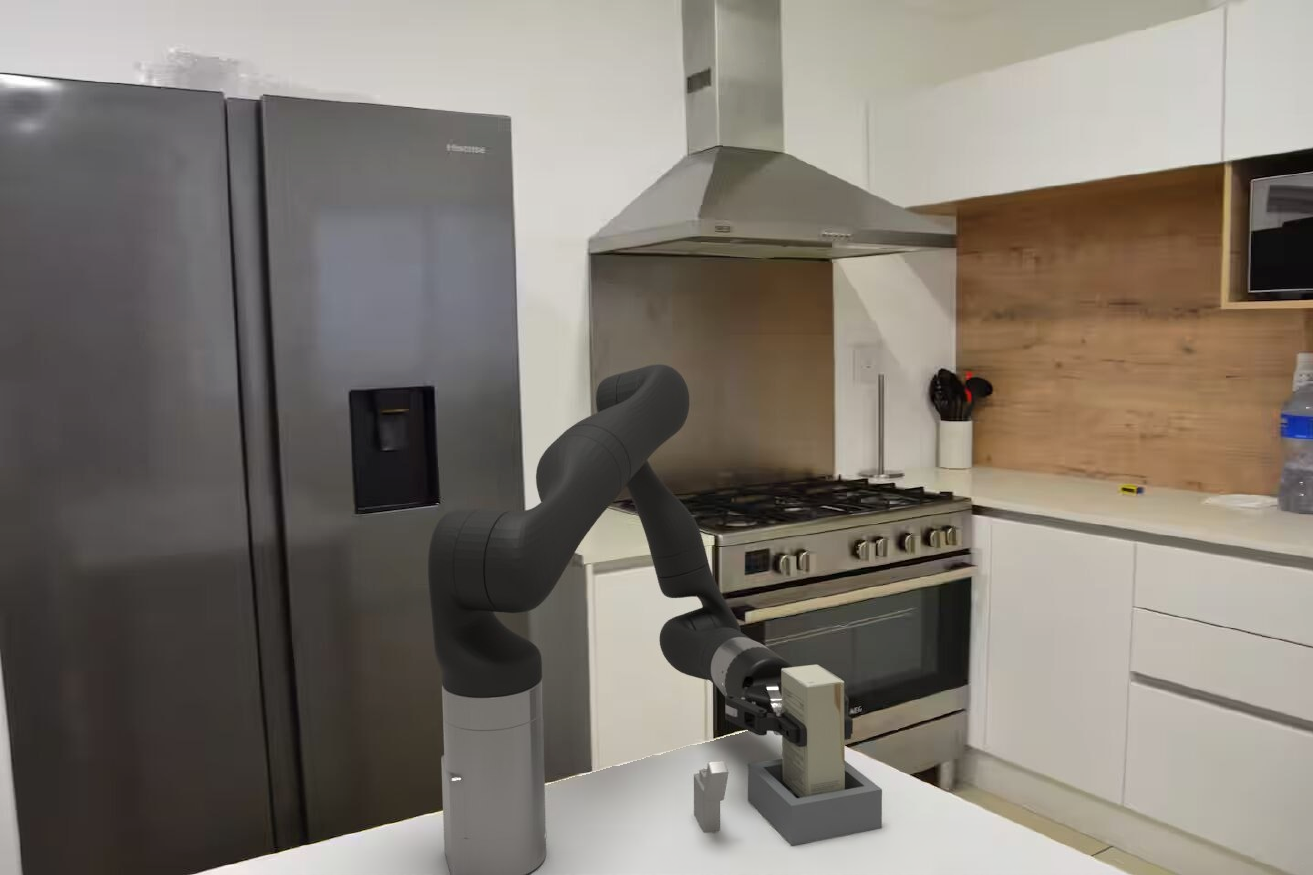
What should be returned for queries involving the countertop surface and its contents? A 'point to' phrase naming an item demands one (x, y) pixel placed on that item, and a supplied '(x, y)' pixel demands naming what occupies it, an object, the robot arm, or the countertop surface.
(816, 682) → the skincare box
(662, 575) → the robot arm
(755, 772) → the holder
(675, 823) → the countertop surface
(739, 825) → the countertop surface
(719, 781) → the lighter
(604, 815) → the countertop surface
